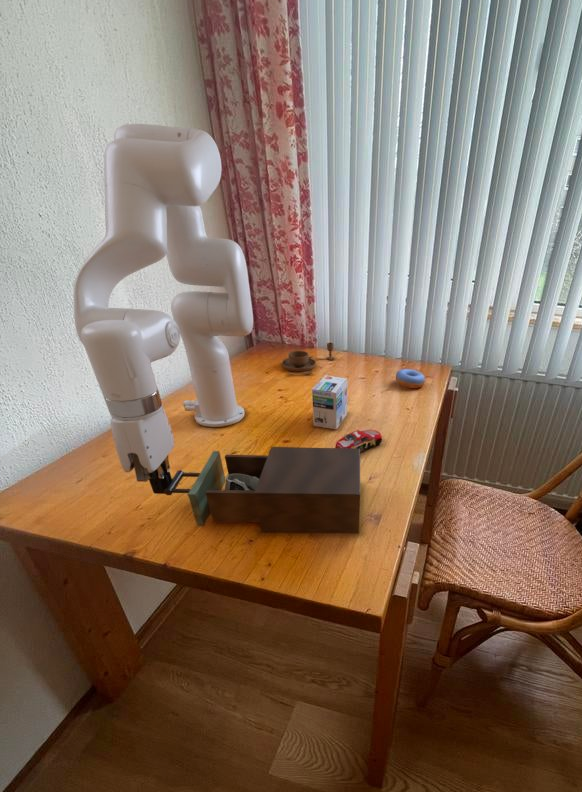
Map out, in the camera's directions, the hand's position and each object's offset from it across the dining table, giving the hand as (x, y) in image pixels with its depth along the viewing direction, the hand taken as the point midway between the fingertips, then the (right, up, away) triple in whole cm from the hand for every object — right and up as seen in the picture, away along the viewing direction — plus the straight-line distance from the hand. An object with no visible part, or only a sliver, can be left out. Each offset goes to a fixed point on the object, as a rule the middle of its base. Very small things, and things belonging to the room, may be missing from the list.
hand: (164, 491), depth 72 cm
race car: (+35, +9, +24) cm, 44 cm away
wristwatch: (+15, -1, +3) cm, 15 cm away
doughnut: (+50, +32, +59) cm, 84 cm away
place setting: (+15, +41, +68) cm, 80 cm away
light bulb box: (+27, +17, +35) cm, 47 cm away
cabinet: (+28, -3, +4) cm, 28 cm away
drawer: (+13, -2, +2) cm, 13 cm away
